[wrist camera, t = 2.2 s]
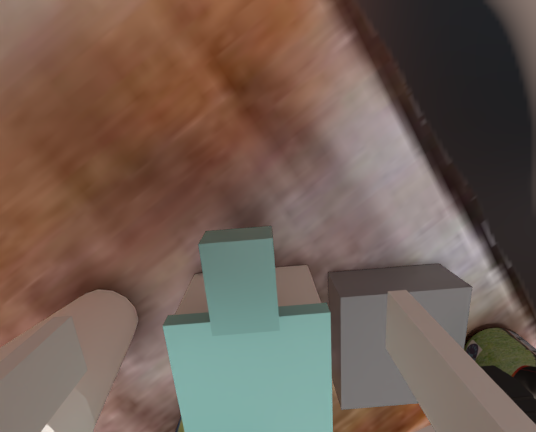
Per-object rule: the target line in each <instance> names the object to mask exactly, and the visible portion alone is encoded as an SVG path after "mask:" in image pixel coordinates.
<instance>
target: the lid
mask: <svg viewBox="0 0 536 432" xmlns="http://www.w3.org/2000/svg"><path fill="white" fill-rule="evenodd" d="M198 246H199V252H200V259H201V265H202V272H203V279H204V285H205V292H206V298H207V305H208V311H209V312H204V313H192V314H180V315H168V317H167V319H166V321H165V322H164V324H163V330H164V335H165V340H166V345H167V350H168V355H169V359H170V364H171V369H172V374H173V379H174V384H175V388H176V393H177V398H178V403H179V408H180V413H181V417H182V422H183V427H184V432H333V422H332V366H331V312H330V310H329V307H328V305H327V303H316V304H303V305H291V306H279V307H278V299H277V286H276V273H275V260H274V246H273V235H272V227H271V226H264V227H251V228H238V229H226V230H213V231H206V232H205V234H204V235H203V237H202V239H201V240H200V242H199V244H198Z"/></svg>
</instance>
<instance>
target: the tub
mask: <svg viewBox="0 0 536 432" xmlns="http://www.w3.org/2000/svg"><path fill="white" fill-rule="evenodd" d="M275 273H276V286H277V299H278V307H279V306H291V305H303V304H316V303H321V301H320V298H319V295H318V293H317V290H316V287H315V284H314V282H313V279H312V276H311V273H310V271H309V268H308V265H300V266H287V267H275ZM204 312H209V311H208V305H207V298H206V292H205V285H204V279H203V273H200V274H194V276H193V278H192V280H191V282H190V284H189V287H188V289H187V291H186V293H185V295H184V297H183V299H182V301H181V303H180V305H179V307H178V309H177V311H176V313H175V315H180V314H192V313H204Z"/></svg>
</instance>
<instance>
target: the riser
mask: <svg viewBox="0 0 536 432" xmlns="http://www.w3.org/2000/svg"><path fill="white" fill-rule="evenodd" d="M398 290H407V291H408V292H409V293H410V294H411V295H412V296H413V297H414V299H415V300H416V301H417V302H418V303H419V304H420V305H421V306H422V307H423V308H424V309H425V310H426V311H427V312H428V313H429V314H430V315H431V316H432V317H433V318H434V319H435V320H436V321H437V322H438V323H439V325H440V326H441V327H442V328H443V329H444V330H445V331H446V332H447V333H448V334H449V335H450V336H451V337H452V338H453V339H454V340H455V341H456V342H457V343H458V344H459V345H460V346H461V347H462V348H463V349H464V345H465V338H466V331H467V323H468V316H469V308H470V301H471V294H472V286H470V285H469V284H468V283H466V282H465V281H463V280H462V279H460V278H459V277H458V276H456V275H455V274H453V273H452V272H450V271H449V270H448V269H446V268H445V267H443V266H442V265H441V264H428V265H415V266H403V267H390V268H378V269H366V270H353V271H341V272H328V298H329V310H330V312H331V366H332V380H333V383H334V387H335V390H336V394H337V397H338V400H339V404H340V407H341V410H343V409H355V408H367V407H379V406H391V405H404V404H416V403H418V401H417V400H416V398H415V396H414V395H413V393H412V391H411V390H410V388H409V386H408V384H407V383H406V381H405V379H404V378H403V376H402V374H401V373H400V371H399V369H398V368H397V366H396V364H395V363H394V361H393V359H392V358H391V356H390V354H389V352H388V351H387V349H386V322H387V297H388V291H398Z"/></svg>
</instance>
